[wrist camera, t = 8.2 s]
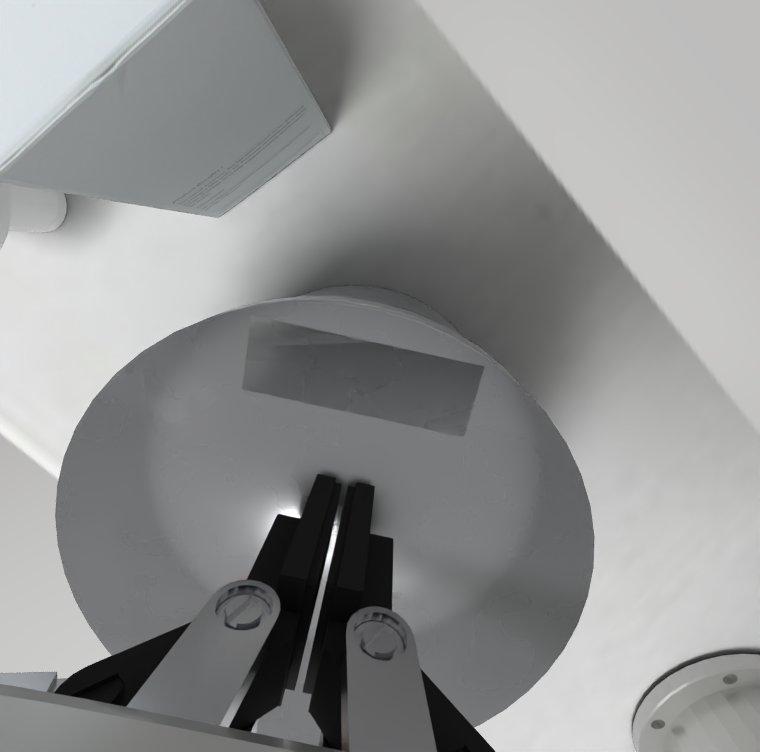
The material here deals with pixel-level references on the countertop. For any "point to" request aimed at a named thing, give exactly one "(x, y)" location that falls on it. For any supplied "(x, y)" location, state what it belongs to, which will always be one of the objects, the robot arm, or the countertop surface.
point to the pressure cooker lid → (349, 465)
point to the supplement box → (149, 101)
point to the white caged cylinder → (30, 210)
